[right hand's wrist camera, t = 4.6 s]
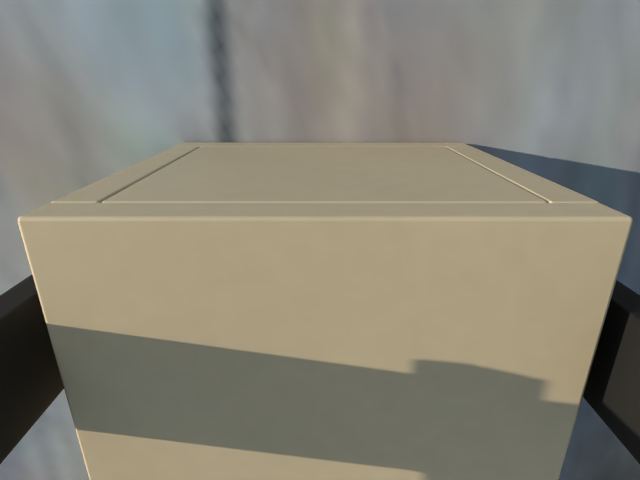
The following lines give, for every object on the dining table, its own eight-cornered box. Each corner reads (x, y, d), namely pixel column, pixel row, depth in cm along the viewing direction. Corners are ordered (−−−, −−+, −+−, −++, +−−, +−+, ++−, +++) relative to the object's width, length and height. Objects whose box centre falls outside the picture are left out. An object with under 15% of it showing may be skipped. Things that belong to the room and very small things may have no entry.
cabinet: (419, 496, 24) (480, 753, 15) (223, 496, 24) (164, 751, 15) (463, 142, 17) (637, 217, 8) (182, 142, 17) (14, 217, 8)
